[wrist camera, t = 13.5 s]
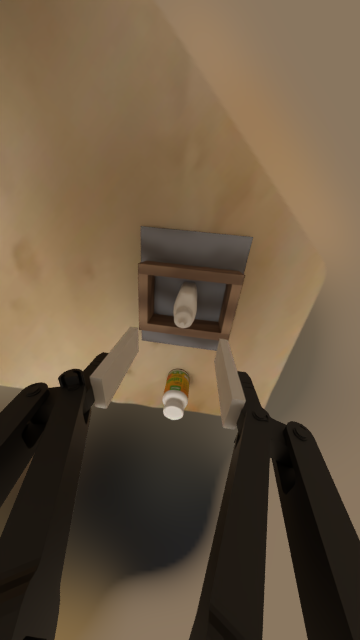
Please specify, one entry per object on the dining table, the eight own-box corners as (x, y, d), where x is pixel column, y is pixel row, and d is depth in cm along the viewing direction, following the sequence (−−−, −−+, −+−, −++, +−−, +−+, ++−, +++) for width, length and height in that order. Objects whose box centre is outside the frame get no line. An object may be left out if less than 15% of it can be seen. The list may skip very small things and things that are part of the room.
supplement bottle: (184, 366, 39) (180, 401, 30) (192, 382, 41) (191, 419, 32) (164, 371, 41) (154, 406, 32) (173, 386, 42) (166, 424, 34)
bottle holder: (142, 226, 28) (130, 222, 23) (251, 237, 26) (263, 235, 22) (143, 338, 37) (134, 352, 32) (223, 349, 36) (227, 365, 31)
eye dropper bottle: (170, 301, 32) (155, 331, 21) (187, 277, 29) (180, 296, 18) (188, 313, 32) (183, 349, 21) (206, 291, 30) (210, 318, 19)
